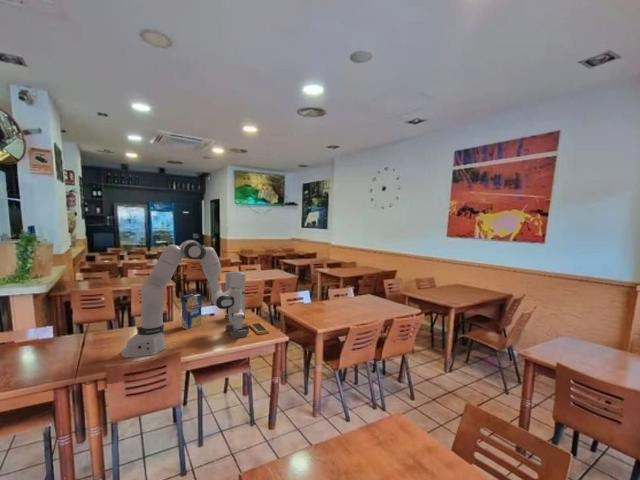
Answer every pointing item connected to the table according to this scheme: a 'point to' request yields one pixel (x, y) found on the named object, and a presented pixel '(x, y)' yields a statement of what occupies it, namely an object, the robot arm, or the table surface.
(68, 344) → the table surface
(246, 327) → the walnut block
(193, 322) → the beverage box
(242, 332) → the grey parallel walls
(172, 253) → the robot arm
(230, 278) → the grey toy tower
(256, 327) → the tray
